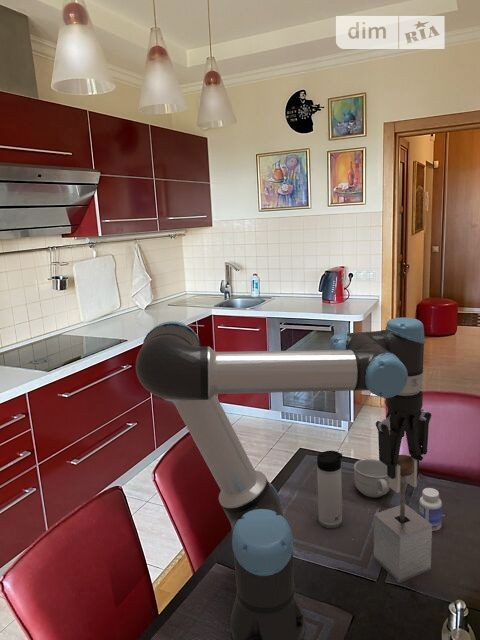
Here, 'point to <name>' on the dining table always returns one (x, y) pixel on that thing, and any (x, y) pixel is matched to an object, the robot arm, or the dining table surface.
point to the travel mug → (329, 489)
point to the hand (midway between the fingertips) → (402, 486)
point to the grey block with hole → (402, 543)
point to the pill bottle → (431, 507)
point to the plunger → (405, 470)
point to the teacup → (371, 477)
